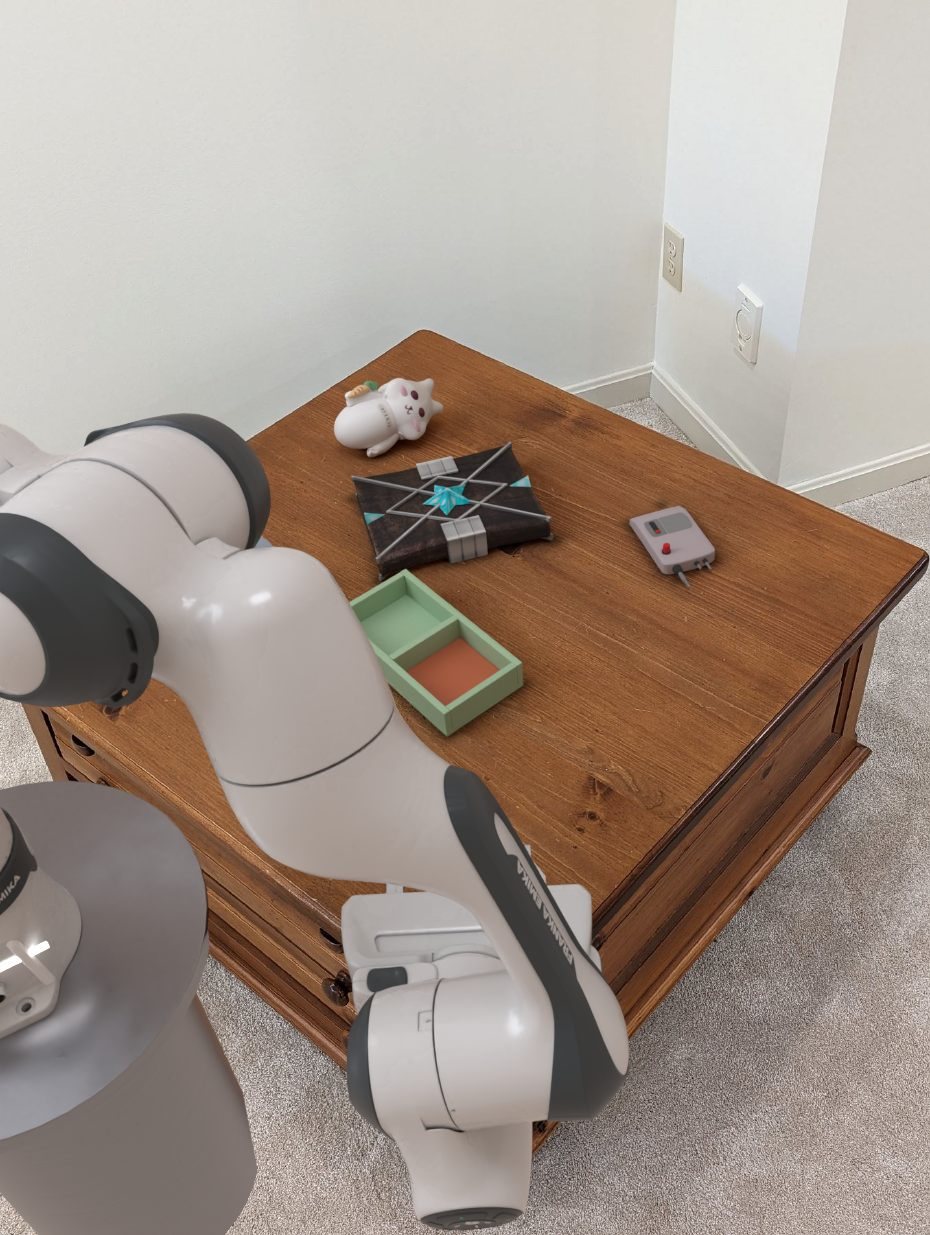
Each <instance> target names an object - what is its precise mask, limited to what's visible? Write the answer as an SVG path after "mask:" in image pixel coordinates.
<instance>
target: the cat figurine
mask: <svg viewBox="0 0 930 1235" xmlns="http://www.w3.org/2000/svg"><path fill="white" fill-rule="evenodd" d="M378 383H379V382H377V381H376V380H375V381H372V380H366V381H364V382H363V384H359V385H357V386H355V387H353V389H352V390H349V391H347V392H346V393H344V399H345V404H346V406H345V407H344V408H343V409H342V410H341V411H340V412H339V413H338V414H337V417H336V419H335V421H334V424H333V433H334V436H335V438H336V440H337V441H338V442H339V443H340V444H341V445H342V446H344V447H346V448H348V449H354V450H364V449H367V450H366V455H367V457H369V458H375V457H378V456H379V455H382V454H384V453H386V452H387V451H389V450H390V449H391V448H392V447H393V446H395V444H396V443H397V441H399V440H400V441H403V440H409V441H417V440H418V439H419V438H421V437H422V436H423V435H424V434H425V432H426V430H427V425H428V424H429V422H430V420H431V418H432V417H433V416H435V415H438V414H441V413H442V412H443V411H444V405H443V403H441V402H439V401H436V400H434V399H433V398H432V394H433V391H434V388H435V381H434V380H433V379H432V378H430V377H429V378H426V379H424V380H420V381H414V380H409V379H404V378H403V377H397V378H393V379H391V380H390V381H388V382H386V383H384V384H382V385H381V386H379V387H378Z"/></svg>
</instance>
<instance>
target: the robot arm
mask: <svg viewBox="0 0 930 1235" xmlns="http://www.w3.org/2000/svg"><path fill="white" fill-rule="evenodd" d="M271 498H272V496H271V488H270V484H269V479H268V477H267V474H266V472H265V469H264V466H263V465H262V462H261V461H260V459H259V457H258V456H257V454H256V452H255V451H254V449H253V448H252V447H251V445H250V444H248V442H246V440H245V439H244V438H243V437H242V436H241V435H240V434H238V433H237V432H236V431H235V430H234V429H232V428H231V427H230V426H228V425H226V424H225V423H223V422H222V421H219V420H217V419H215V418H213V417H210V416H208V415H204V414H200V413H199V414H198V413H191V412H190V413H189V412H188V413H187V412H183V413H181V412H180V413H169V414H162V415H157V416H153V417H148V418H147V417H146V418H142V419H139V420H134V421H131V422H127V423H124V424H120V425H115V426H109V427H106V428H101V429H95V430H93V431H91V432H89V433H88V435H87V436H86V438H85V441H84V444H83V447H81V448H79V449H77V450H74V451H72V452H70V453H69V452H68V453H66V454H52V453H48V452H46V451H44V450H42V449H41V448H40V447H39V446H38V445H36V444H35V443H34V442H33V441H31V439H29V438H28V437H27V436H25V435H24V434H23V433H21V432H20V431H18V430H16V429H15V428H13V427H11V426H9V425H6V424H5V423H3V422H0V699H3V700H7V701H9V702H15V703H19V704H25V705H29V706H34V707H35V706H36V707H44V708H61V707H68V706H75V705H81V704H85V703H89V702H90V703H95V704H98V705H102V706H105V707H109V708H114V709H115V708H123V707H126V706H127V707H128V706H130V705H132V704H133V703H135V702H136V701H137V700H138V699H139V698H141V697H142V695H143V694H144V693H145V691H146V690H147V688H148V686H149V684H150V682H151V679H153V680H156V681H158V682H160V683H161V684H163V685H164V686H166V687H168V688H169V689H171V690H172V691H173V692H174V693H175V694H176V695H177V696H178V698H180V699H181V700H182V702H183V703H184V705H185V706H186V708H187V709H188V711H189V713H190V715H191V717H192V718H193V720H194V723H195V725H196V728H197V731H198V732H199V735H200V738H201V740H202V743H203V746H204V748H205V750H206V753H207V755H208V758H209V761H210V763H211V765H212V767H213V769H214V772H215V774H216V776H217V779H218V781H219V783H220V787H221V788H222V790H223V792H224V795H225V798H226V799H227V802H228V804H229V806H230V808H231V810H232V812H233V814H234V816H235V817H236V819H237V821H238V822H239V824H240V825H241V828H242V829H243V830H244V831H245V833H246V834H247V835H248V837H249V838H250V839H251V840H252V841H253V842H254V844H256V846H257V847H258V848H259V849H260V850H261V851H263V853H264V854H266V855H267V856H269V857H270V858H272V859H273V860H274V861H276V862H278V863H280V864H282V865H284V866H286V867H288V868H291V869H292V870H295V871H297V872H301V873H304V874H307V875H311V876H314V877H318V878H323V879H330V880H338V881H339V880H340V881H351V882H353V881H354V882H365V883H375V884H376V883H377V884H384V885H386V886H385V887H386V889H385V890H386V891H385V893H369V894H353V895H351V896H350V897H348V899H347V900H346V901H345V902H344V904H343V905H342V906H341V912H340V929H341V930H340V931H341V942H342V943H341V944H342V948H343V949H342V950H343V953H344V959H345V963H346V967H347V970H348V974H349V978H350V981H351V983H352V984H351V990H352V1000H353V1006H354V1009H355V1011H356V1012H355V1013H356V1014H357V1015H356V1017H355V1019H354V1020H353V1022H352V1025H351V1026H350V1029H349V1032H348V1037H347V1047H346V1048H347V1049H346V1085H347V1093H348V1097H349V1101H350V1103H351V1105H352V1107H353V1108H354V1110H355V1111H356V1112H357V1114H359V1115H360V1116H361V1117H362V1118H363V1119H364V1120H365V1121H366V1122H368V1123H369V1124H370V1125H371V1126H372V1127H373V1128H375V1129H376V1130H377V1131H378V1132H380V1133H381V1134H382V1135H384V1136H385V1137H387V1138H388V1139H390V1140H391V1141H393V1142H394V1143H395V1144H396V1146H397V1147H398V1149H399V1151H400V1153H401V1155H402V1158H403V1160H404V1162H405V1165H406V1169H407V1172H408V1176H409V1183H410V1189H411V1197H412V1204H413V1210H414V1213H415V1216H416V1218H417V1220H418V1221H419V1222H421V1223H422V1224H424V1225H426V1226H428V1227H429V1228H431V1229H437V1230H440V1231H448V1232H449V1231H451V1232H452V1231H461V1232H463V1231H464V1232H465V1231H473V1230H482V1229H489V1228H490V1229H491V1228H496V1227H501V1226H503V1225H507V1224H510V1223H512V1222H514V1221H516V1219H518V1218H519V1217H520V1216H521V1215H523V1214H525V1212H526V1210H527V1206H528V1200H529V1194H530V1186H531V1175H532V1160H533V1159H532V1158H533V1122H541V1121H547V1123H552V1122H553V1123H554V1122H555V1123H556V1122H574V1121H575V1122H576V1121H593V1120H594V1119H595V1118H597V1116H598V1115H599V1114H600V1113H601V1112H602V1111H603V1110H604V1109H606V1107H607V1106H608V1105H609V1104H610V1103H611V1101H612V1100H613V1099H614V1098H615V1096H616V1095H617V1094H618V1092H619V1091H620V1089H621V1088H622V1087H623V1085H624V1083H625V1082H626V1080H627V1078H628V1076H629V1072H630V1045H629V1044H630V1043H629V1034H628V1029H627V1023H626V1019H625V1016H624V1014H623V1011H622V1007H621V1005H620V1003H619V1000H618V999H617V996H616V995H615V994H614V992H613V989H612V988H611V985H610V984H609V981H608V980H607V978H606V977H605V975H604V972H603V965H602V964H603V963H602V957H601V954H600V953H599V951H598V949H597V948H595V946H593V945H592V940H593V938H592V937H593V901H592V894H591V893H590V891H588V890H587V889H586V888H585V887H584V886H583V885H582V884H579V883H569V884H551V885H550V884H547V877H546V875H545V873H544V872H543V871H542V870H541V868H540V867H539V866H538V865H537V863H536V862H535V861H534V860H533V859H532V849H531V844H524V842H523V840H522V839H521V837H520V835H519V834H518V832H517V831H516V829H515V827H514V825H513V824H512V822H511V821H510V819H509V817H508V816H507V814H506V813H505V810H504V809H503V807H502V806H501V805H500V803H499V802H498V800H497V799H496V797H495V796H494V794H493V793H492V792H491V790H490V789H489V787H488V786H487V785H486V783H485V782H484V781H483V780H482V778H480V776H479V775H477V774H476V772H474V771H472V770H469V769H466V768H463V767H460V766H457V765H454V764H451V763H449V762H448V761H446V760H445V759H443V758H442V757H440V756H439V755H438V754H436V752H434V751H433V750H432V749H431V748H430V747H428V746H427V745H426V744H425V743H424V742H423V741H422V740H421V739H420V738H419V737H418V736H417V735H416V734H415V732H414V731H413V730H412V729H411V728H410V726H409V725H408V723H407V722H406V720H405V719H404V717H403V716H402V713H401V712H400V710H399V709H398V706H397V704H396V701H395V698H394V696H393V693H392V689H391V686H390V684H388V682H387V679H386V677H385V674H384V672H383V669H382V667H381V665H380V662H379V660H378V658H377V656H376V653H375V651H374V649H373V647H372V645H371V643H370V641H369V639H368V637H367V635H366V633H365V631H364V629H363V627H362V625H361V623H360V621H359V619H358V618H357V616H356V614H355V612H354V610H353V609H352V607H351V605H350V603H349V602H350V601H349V600H348V599H347V596H346V595H345V593H344V591H343V589H342V588H341V587H340V585H339V583H338V581H337V580H336V579H335V577H334V576H333V574H332V572H331V571H330V570H329V569H328V567H327V566H325V565H324V564H323V563H322V562H321V561H320V560H319V559H317V558H316V557H314V556H313V555H311V554H309V553H307V552H305V551H302V550H300V549H297V548H292V547H286V546H273V547H259V548H255V546H256V544H257V543H258V541H259V540H260V538H261V536H262V534H263V533H264V531H265V529H266V527H267V524H268V521H269V518H270V515H271V514H270V513H271V505H272V499H271ZM263 535H264V534H263ZM126 691H127V692H126ZM124 692H126V694H124V695H123V693H124ZM34 855H35V854H34V852H33V850H32V848H31V846H30V844H29V842H28V840H27V838H26V837H25V835H24V833H23V831H22V830H21V828H20V827H19V825H18V824H17V822H16V821H15V820H14V819H13V818H12V817H11V816H10V815H9V813H8V812H7V811H5V810H4V809H3V808H1V807H0V1039H1V1038H3V1037H5V1036H7V1035H9V1034H11V1033H13V1032H16V1031H18V1030H20V1029H22V1028H24V1027H26V1026H28V1025H30V1024H32V1023H34V1022H36V1021H38V1020H40V1019H42V1018H44V1017H46V1016H48V1015H49V1014H50V1013H51V1012H52V1011H53V1010H54V1008H55V1006H56V1004H57V1000H58V996H59V989H60V981H61V979H62V976H63V974H64V972H65V971H66V969H67V967H68V966H69V964H70V962H71V960H72V958H73V956H74V954H75V952H76V950H77V947H78V944H79V941H80V936H81V929H82V920H81V913H80V909H79V906H78V904H77V902H76V900H75V898H74V897H73V896H72V894H71V893H70V892H69V891H68V890H67V889H66V888H65V887H63V886H62V885H60V884H59V883H57V882H55V881H54V880H53V879H52V878H50V877H49V876H48V875H47V874H46V873H45V872H44V871H43V870H42V869H41V868H40V866H39V865H38V864H37V862H36V859H35V857H34ZM406 888H410V889H414V890H419V891H411V892H405V889H406ZM28 1007H31V1009H30V1010H29V1011H27V1012H24V1011H25V1009H26V1008H28Z"/></svg>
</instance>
